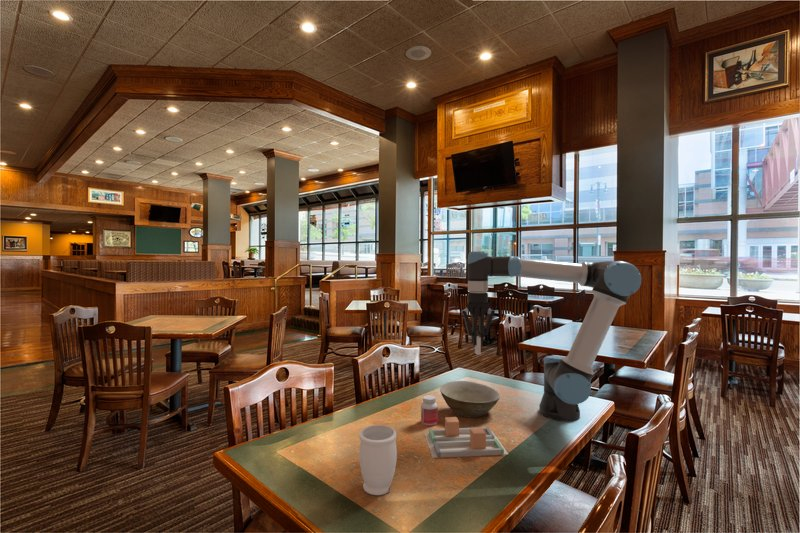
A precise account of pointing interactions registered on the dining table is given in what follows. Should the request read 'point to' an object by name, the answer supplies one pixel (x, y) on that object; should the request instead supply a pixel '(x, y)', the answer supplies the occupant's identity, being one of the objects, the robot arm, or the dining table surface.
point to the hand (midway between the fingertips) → (477, 353)
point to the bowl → (469, 398)
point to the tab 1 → (451, 427)
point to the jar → (377, 458)
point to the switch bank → (461, 444)
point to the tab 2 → (477, 438)
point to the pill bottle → (429, 411)
